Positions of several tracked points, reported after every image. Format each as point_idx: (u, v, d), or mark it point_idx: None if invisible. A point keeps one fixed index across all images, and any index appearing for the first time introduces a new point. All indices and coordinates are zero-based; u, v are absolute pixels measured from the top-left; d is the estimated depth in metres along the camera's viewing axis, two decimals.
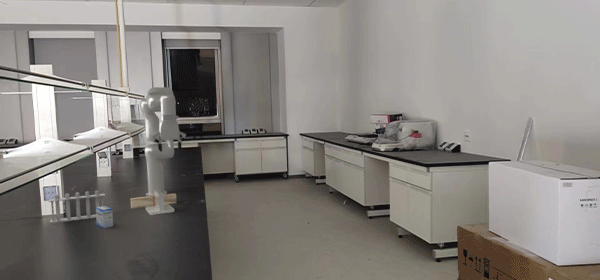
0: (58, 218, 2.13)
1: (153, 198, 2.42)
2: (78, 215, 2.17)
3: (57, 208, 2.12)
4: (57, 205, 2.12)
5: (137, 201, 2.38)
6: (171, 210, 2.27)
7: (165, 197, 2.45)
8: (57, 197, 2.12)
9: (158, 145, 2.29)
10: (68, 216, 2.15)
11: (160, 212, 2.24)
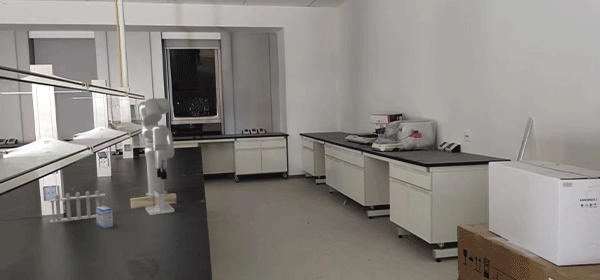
0: (58, 218, 2.13)
1: (153, 198, 2.42)
2: (78, 215, 2.17)
3: (57, 208, 2.13)
4: (57, 205, 2.12)
5: (138, 201, 2.38)
6: (171, 210, 2.27)
7: (165, 197, 2.46)
8: (57, 197, 2.12)
9: (163, 173, 2.40)
10: (68, 216, 2.15)
11: (160, 212, 2.24)
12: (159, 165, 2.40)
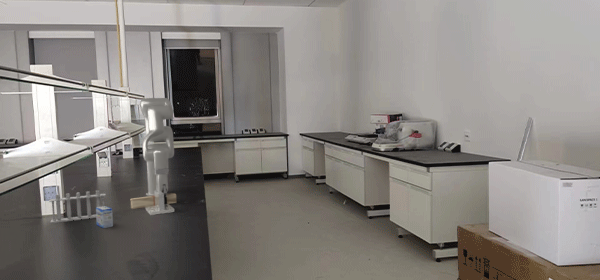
0: (59, 218, 2.13)
1: (153, 198, 2.42)
2: (79, 215, 2.17)
3: (58, 208, 2.13)
4: (58, 205, 2.13)
5: (138, 201, 2.38)
6: (171, 210, 2.27)
7: None
8: (58, 197, 2.12)
9: (164, 199, 2.44)
10: (69, 216, 2.15)
11: (160, 212, 2.24)
12: (160, 189, 2.41)
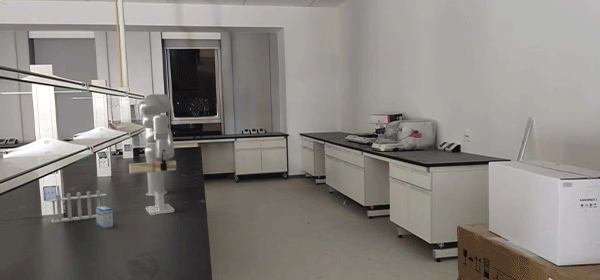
0: (59, 218, 2.13)
1: (152, 164, 2.37)
2: (79, 215, 2.17)
3: (58, 208, 2.13)
4: (58, 205, 2.13)
5: (136, 166, 2.33)
6: (171, 210, 2.27)
7: None
8: (58, 197, 2.12)
9: (163, 165, 2.39)
10: (69, 216, 2.15)
11: (160, 212, 2.24)
12: (160, 154, 2.36)
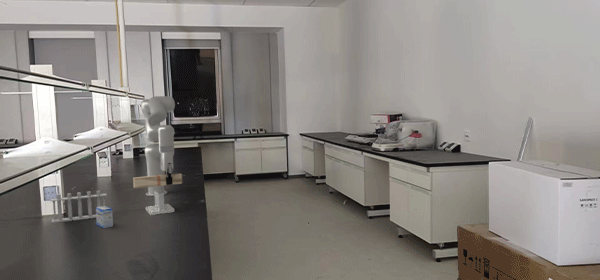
0: (60, 218, 2.14)
1: (157, 177, 2.27)
2: (80, 215, 2.17)
3: (59, 208, 2.13)
4: (59, 205, 2.13)
5: (141, 180, 2.23)
6: (171, 210, 2.27)
7: None
8: (59, 197, 2.13)
9: (169, 178, 2.29)
10: (70, 216, 2.15)
11: (160, 212, 2.24)
12: (165, 168, 2.26)
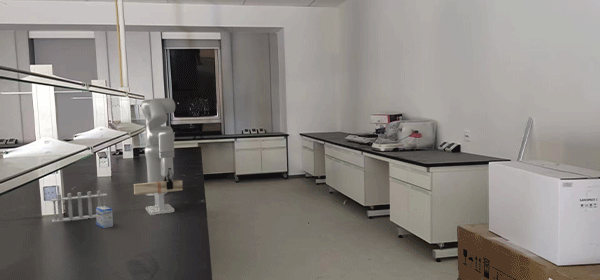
0: (60, 218, 2.14)
1: (158, 184, 2.27)
2: (80, 215, 2.17)
3: (59, 208, 2.13)
4: (59, 205, 2.13)
5: (141, 187, 2.24)
6: (171, 210, 2.27)
7: None
8: (59, 197, 2.13)
9: (169, 183, 2.28)
10: (70, 216, 2.16)
11: (160, 212, 2.24)
12: (165, 173, 2.26)
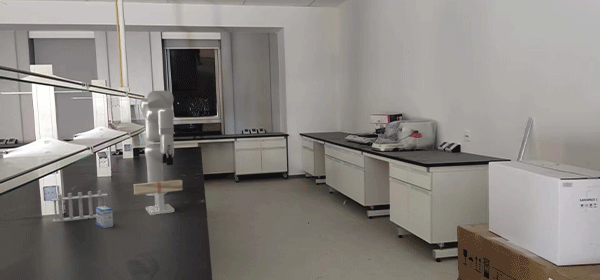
0: (61, 217, 2.14)
1: (158, 184, 2.27)
2: (80, 215, 2.18)
3: (60, 207, 2.14)
4: (60, 204, 2.14)
5: (141, 187, 2.24)
6: (171, 210, 2.27)
7: (170, 183, 2.31)
8: (60, 196, 2.13)
9: (169, 159, 2.27)
10: (71, 215, 2.16)
11: (160, 212, 2.24)
12: (165, 150, 2.26)
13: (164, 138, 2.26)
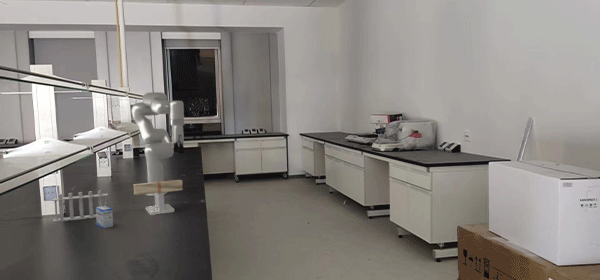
0: (61, 217, 2.15)
1: (158, 184, 2.27)
2: (81, 214, 2.18)
3: (60, 207, 2.14)
4: (60, 204, 2.14)
5: (141, 187, 2.24)
6: (171, 210, 2.27)
7: (170, 183, 2.31)
8: (60, 196, 2.14)
9: (180, 147, 2.44)
10: (71, 215, 2.16)
11: (160, 212, 2.24)
12: (176, 139, 2.44)
13: (175, 128, 2.44)
